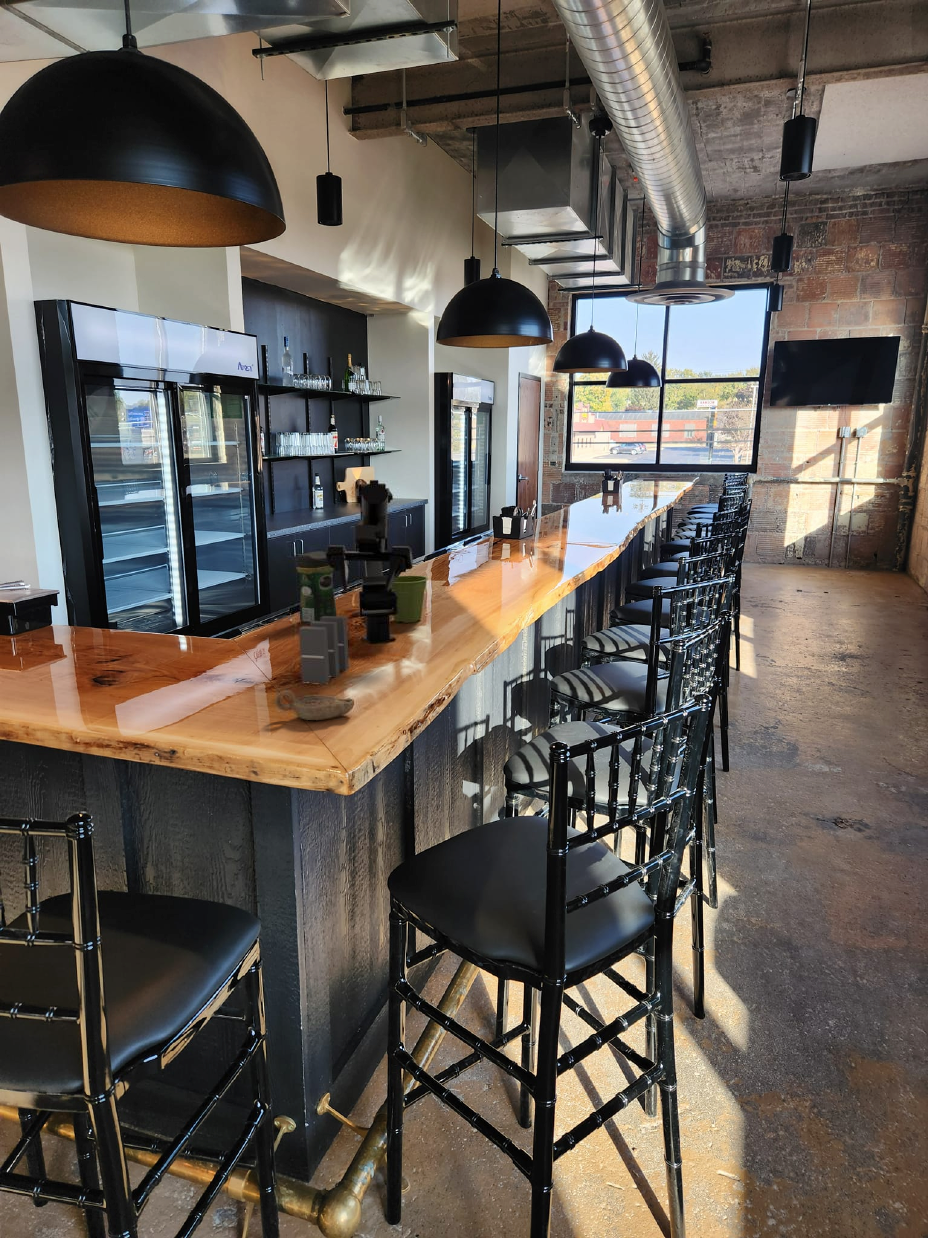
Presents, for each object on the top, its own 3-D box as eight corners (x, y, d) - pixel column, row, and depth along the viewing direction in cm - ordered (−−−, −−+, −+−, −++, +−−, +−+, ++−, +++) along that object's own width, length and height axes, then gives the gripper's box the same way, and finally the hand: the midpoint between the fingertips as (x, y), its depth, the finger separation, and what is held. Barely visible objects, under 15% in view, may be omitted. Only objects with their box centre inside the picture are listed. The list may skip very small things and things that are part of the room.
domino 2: (316, 673, 160) (313, 621, 158) (339, 675, 159) (337, 622, 157) (312, 676, 158) (309, 622, 156) (336, 677, 157) (333, 623, 155)
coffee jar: (320, 616, 216) (317, 549, 213) (341, 619, 212) (338, 550, 208) (294, 622, 209) (290, 553, 205) (315, 626, 204) (311, 554, 200)
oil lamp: (356, 710, 138) (355, 682, 137) (352, 724, 130) (350, 695, 129) (281, 711, 137) (279, 684, 136) (272, 726, 130) (270, 697, 129)
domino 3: (326, 667, 165) (323, 616, 163) (348, 668, 164) (346, 616, 161) (323, 669, 163) (320, 617, 161) (345, 670, 162) (343, 618, 160)
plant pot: (410, 613, 218) (409, 573, 215) (438, 620, 209) (437, 578, 207) (375, 620, 210) (374, 578, 208) (403, 627, 201) (402, 583, 199)
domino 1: (306, 680, 155) (303, 626, 153) (329, 682, 154) (327, 627, 152) (302, 683, 154) (298, 628, 151) (326, 684, 152) (323, 629, 150)
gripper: (325, 509, 171) (315, 569, 164) (410, 509, 170) (403, 571, 163) (335, 537, 181) (326, 596, 174) (415, 538, 180) (409, 598, 173)
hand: (365, 590), depth 171 cm, fingers open, 9 cm apart
